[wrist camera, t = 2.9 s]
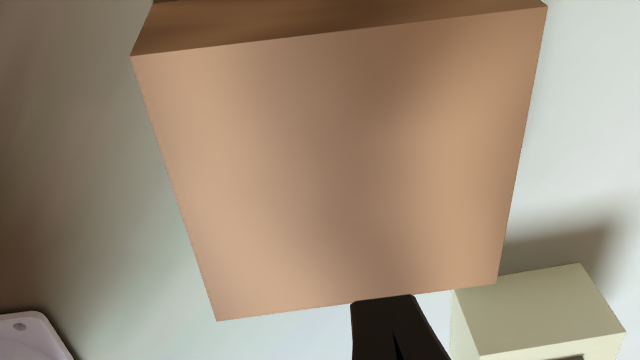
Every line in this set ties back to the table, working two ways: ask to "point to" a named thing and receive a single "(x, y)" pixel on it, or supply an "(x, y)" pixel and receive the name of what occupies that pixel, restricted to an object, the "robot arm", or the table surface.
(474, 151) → the plain walnut block
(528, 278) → the numbered block seven
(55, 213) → the table surface
